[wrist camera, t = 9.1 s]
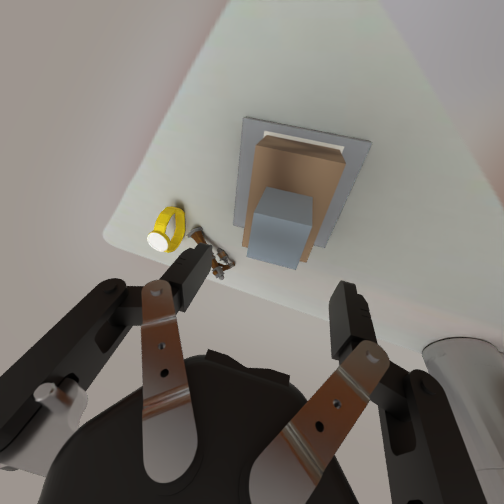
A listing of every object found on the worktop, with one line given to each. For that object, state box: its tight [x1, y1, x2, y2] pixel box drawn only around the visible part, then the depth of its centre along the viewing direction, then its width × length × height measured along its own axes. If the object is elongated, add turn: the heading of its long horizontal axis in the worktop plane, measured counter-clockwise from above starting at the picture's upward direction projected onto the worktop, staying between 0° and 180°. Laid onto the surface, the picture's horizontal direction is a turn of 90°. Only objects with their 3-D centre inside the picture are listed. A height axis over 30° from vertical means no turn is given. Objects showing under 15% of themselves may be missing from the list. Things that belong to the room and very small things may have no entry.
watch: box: [147, 206, 185, 253], centre depth 28 cm, size 6×3×6 cm, turn 170°
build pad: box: [233, 117, 372, 248], centre depth 24 cm, size 12×12×1 cm
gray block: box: [247, 187, 313, 270], centre depth 17 cm, size 4×4×5 cm
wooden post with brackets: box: [186, 227, 235, 280], centre depth 31 cm, size 2×8×4 cm, turn 45°
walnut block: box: [242, 135, 346, 262], centre depth 21 cm, size 7×10×5 cm
